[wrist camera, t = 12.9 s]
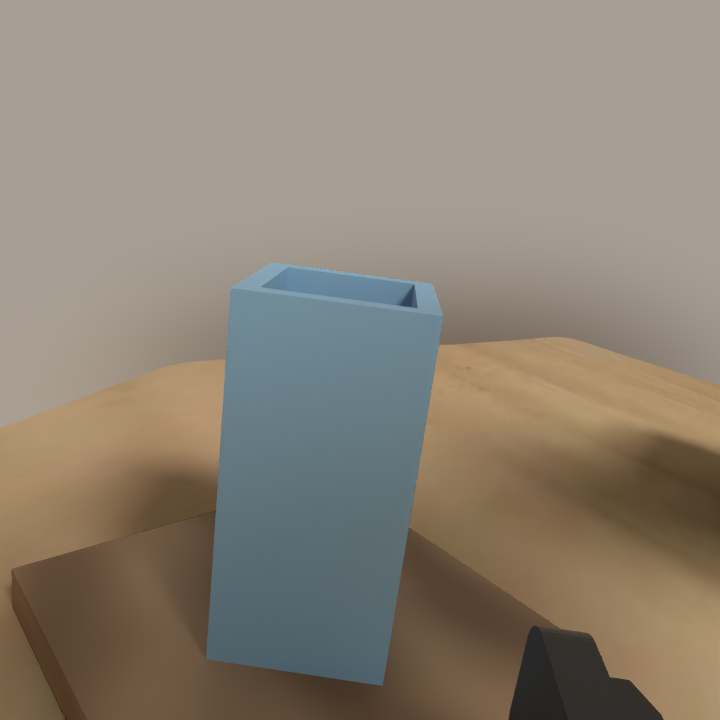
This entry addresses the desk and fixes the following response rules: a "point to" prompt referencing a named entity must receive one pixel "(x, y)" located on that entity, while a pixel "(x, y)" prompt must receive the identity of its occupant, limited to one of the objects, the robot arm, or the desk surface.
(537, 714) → the robot arm
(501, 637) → the peg board
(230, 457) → the sleeve
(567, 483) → the desk surface
